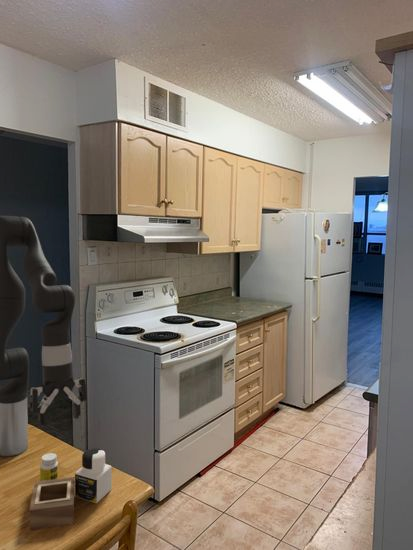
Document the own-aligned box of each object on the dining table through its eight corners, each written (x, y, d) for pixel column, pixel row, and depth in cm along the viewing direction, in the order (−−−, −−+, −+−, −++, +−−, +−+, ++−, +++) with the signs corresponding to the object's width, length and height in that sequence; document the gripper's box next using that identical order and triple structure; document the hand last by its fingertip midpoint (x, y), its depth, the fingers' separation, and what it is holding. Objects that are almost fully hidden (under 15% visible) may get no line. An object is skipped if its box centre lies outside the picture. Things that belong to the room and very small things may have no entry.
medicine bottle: (74, 497, 115) (74, 455, 114) (90, 483, 122) (91, 443, 121) (96, 504, 113) (96, 461, 111) (111, 489, 119) (112, 448, 118)
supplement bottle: (52, 491, 118) (51, 462, 117) (36, 488, 118) (36, 459, 118) (61, 481, 122) (61, 453, 121) (46, 479, 123) (46, 451, 122)
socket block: (35, 499, 114) (35, 480, 113) (74, 494, 117) (74, 476, 116) (29, 529, 102) (29, 509, 102) (73, 523, 105) (73, 503, 104)
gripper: (78, 354, 120) (81, 412, 120) (24, 363, 111) (28, 425, 111) (88, 358, 114) (91, 419, 114) (33, 368, 105) (36, 433, 106)
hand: (60, 422), depth 113 cm, fingers open, 8 cm apart
